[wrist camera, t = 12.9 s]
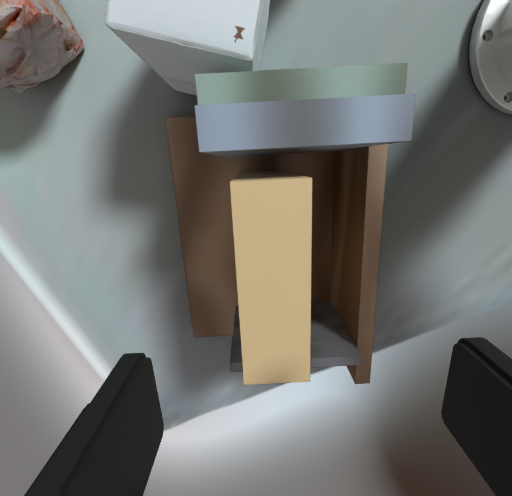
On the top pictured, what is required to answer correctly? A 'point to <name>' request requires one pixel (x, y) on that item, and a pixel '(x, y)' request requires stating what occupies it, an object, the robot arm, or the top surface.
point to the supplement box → (192, 36)
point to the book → (273, 274)
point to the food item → (34, 42)
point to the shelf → (302, 163)
